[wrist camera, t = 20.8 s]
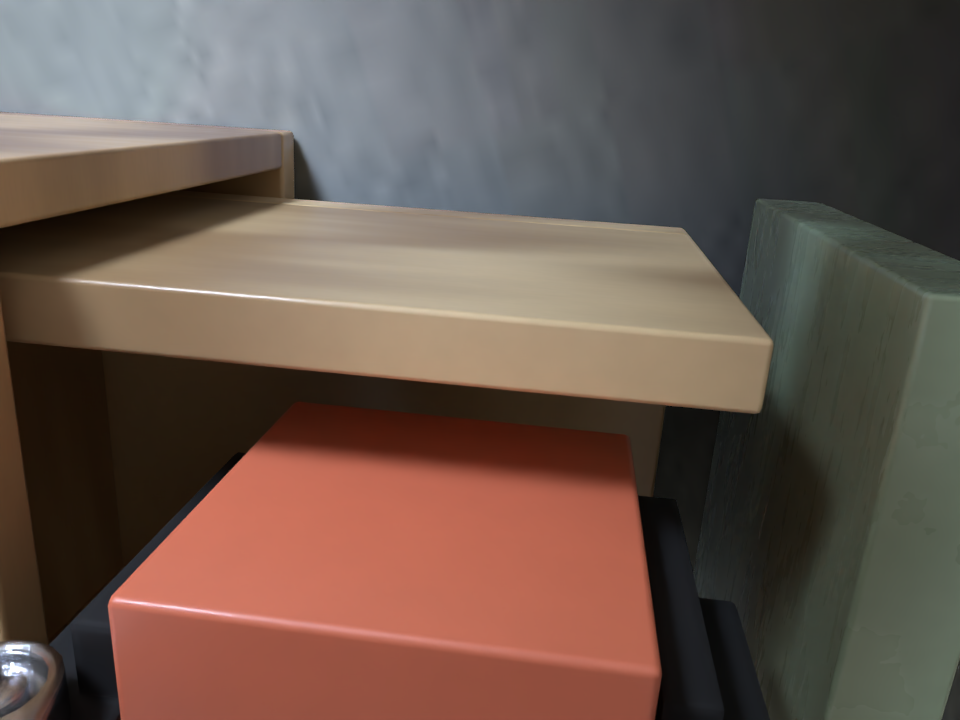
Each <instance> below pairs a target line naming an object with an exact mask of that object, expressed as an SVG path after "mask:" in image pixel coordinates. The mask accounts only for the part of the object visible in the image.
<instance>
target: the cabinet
mask: <svg viewBox="0 0 960 720" xmlns="http://www.w3.org/2000/svg"><path fill="white" fill-rule="evenodd" d="M178 190H180V191H193V192H207V193H220V194H234V195H247V196H260V197H274V198H287V199H295V194H294V139H293V133H292V132H290V131H284V130H269V129H253V128H238V127H223V126H207V125H192V124H177V123H161V122H146V121H131V120H116V119H100V118H85V117H70V116H54V115H39V114H24V113H8V112H0V228H4V227H9V226H13V225H18V224H23V223H27V222H32V221H37V220H42V219H46V218H51V217H56V216H60V215H65V214H70V213H74V212H79V211H84V210H89V209H93V208H98V207H103V206H107V205H112V204H117V203H121V202H126V201H131V200H136V199H140V198H145V197H150V196H154V195H159V194H164V193H168V192H173V191H178ZM11 640H27V641H38V642H40V643H43V644H46V645H49V640H48V633H47V626H46V618H45V611H44V604H43V597H42V590H41V583H40V576H39V569H38V562H37V555H36V548H35V540H34V533H33V526H32V519H31V512H30V505H29V498H28V491H27V484H26V477H25V469H24V462H23V455H22V448H21V441H20V434H19V427H18V420H17V413H16V406H15V399H14V391H13V384H12V377H11V370H10V363H9V356H8V349H7V342H6V335H5V328H4V321H3V313H2V306H1V299H0V642H2V641H11Z"/></svg>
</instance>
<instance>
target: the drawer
mask: <svg viewBox="0 0 960 720" xmlns="http://www.w3.org/2000/svg"><path fill="white" fill-rule="evenodd" d="M0 299H1V306H2V313H3V321H4V328H5V335H6V342H7V349H8V356H9V363H10V370H11V377H12V384H13V391H14V399H15V406H16V413H17V420H18V427H19V434H20V441H21V448H22V455H23V462H24V469H25V477H26V484H27V491H28V498H29V505H30V512H31V519H32V526H33V533H34V540H35V548H36V555H37V562H38V569H39V576H40V583H41V590H42V597H43V604H44V611H45V618H46V626H47V633H48V640H49V644H50V643H51V642H52V641H53V640H54V639H55V638H56V637H57V636H58V635H59V634H60V633H61V632H62V631H63V630H64V629H65V628H66V627H67V626H68V625H69V624H70V623H71V622H72V621H73V620H74V619H75V618H76V617H77V616H78V614H79V613H80V612H81V611H82V610H83V609H84V608H85V607H86V606H87V605H88V604H89V603H90V602H91V601H92V600H93V599H94V598H95V597H96V596H97V595H98V594H99V593H100V592H101V591H102V590H103V589H104V588H105V587H106V586H107V585H108V584H109V583H110V582H111V581H112V580H113V579H114V578H115V577H116V576H117V575H118V574H119V572H120V571H121V570H122V569H123V568H124V567H125V566H126V565H127V564H128V563H129V562H130V561H131V560H132V559H133V558H134V557H135V556H136V555H137V554H138V553H139V552H140V551H141V550H142V549H143V548H144V547H145V546H146V545H147V544H148V543H149V542H150V541H151V540H152V539H153V538H154V537H155V536H156V535H157V534H158V533H159V532H160V530H161V529H162V528H163V527H164V526H165V525H166V524H167V523H168V522H169V521H170V520H171V519H172V518H173V517H174V516H175V515H176V514H177V513H178V512H179V511H180V510H181V509H182V508H183V507H184V506H185V505H186V504H187V503H188V502H189V501H190V500H191V499H192V498H193V497H194V496H195V495H196V494H197V493H198V492H199V491H200V490H201V488H202V487H203V486H204V485H205V484H206V483H207V482H208V481H209V480H210V479H211V478H212V477H213V476H214V475H215V474H216V473H217V472H218V471H219V470H220V469H221V468H222V467H223V466H224V465H225V464H226V463H227V462H228V461H229V460H230V459H231V458H232V457H233V456H234V455H235V454H236V453H238V452H241V453H247V452H248V451H249V450H250V449H251V448H252V447H253V446H254V445H255V444H256V443H257V442H258V441H259V439H260V438H261V437H262V436H263V435H264V434H265V433H266V432H267V431H268V430H269V429H270V428H271V427H272V426H273V425H274V424H275V423H276V422H277V420H278V419H279V418H280V417H281V416H282V415H283V414H284V413H285V412H286V411H287V410H288V409H289V408H290V407H291V406H292V405H293V404H294V403H296V402H307V403H317V404H327V405H337V406H347V407H357V408H367V409H376V410H386V411H396V412H406V413H416V414H426V415H436V416H446V417H456V418H466V419H476V420H486V421H496V422H506V423H516V424H525V425H535V426H545V427H555V428H565V429H575V430H585V431H595V432H605V433H615V434H624V435H627V436H629V438H630V441H631V448H632V456H633V463H634V470H635V478H636V485H637V492H638V496H648V497H653V494H654V487H655V480H656V472H657V465H658V458H659V451H660V444H661V437H662V430H663V423H664V416H665V409H666V405H668V406H678V407H689V408H699V409H709V410H720V417H719V423H718V429H717V435H716V441H715V447H714V453H713V459H712V465H711V471H710V477H709V483H708V489H707V495H706V502H705V508H704V514H703V520H702V526H701V532H700V538H699V544H698V550H697V556H696V562H695V568H694V574H693V575H694V579H695V584H696V588H697V592H698V597H699V598H708V599H716V600H724V601H731V602H733V603H734V604H735V606H736V608H737V611H738V614H739V617H740V620H741V624H742V627H743V630H744V634H745V637H746V641H747V644H748V647H749V651H750V654H751V657H752V661H753V664H754V667H755V671H756V674H757V678H758V681H759V684H760V688H761V691H762V694H763V698H764V701H765V704H766V708H767V711H768V715H769V718H770V720H942V716H943V713H944V710H945V706H946V703H947V700H948V697H949V693H950V690H951V687H952V683H953V680H954V677H955V673H956V670H957V667H958V663H959V660H960V261H958V260H956V259H953V258H951V257H949V256H946V255H944V254H941V253H939V252H937V251H934V250H932V249H929V248H927V247H925V246H922V245H920V244H918V243H915V242H913V241H910V240H908V239H906V238H903V237H901V236H898V235H896V234H894V233H891V232H889V231H887V230H884V229H882V228H879V227H877V226H875V225H872V224H870V223H868V222H865V221H863V220H860V219H858V218H856V217H853V216H851V215H848V214H846V213H844V212H841V211H839V210H837V209H834V208H832V207H829V206H827V205H825V204H822V203H819V202H804V201H790V200H776V199H762V198H759V199H756V201H755V205H754V211H753V217H752V223H751V229H750V235H749V241H748V247H747V253H746V259H745V266H744V272H743V278H742V284H741V290H740V296H739V297H738V296H737V295H736V294H735V292H734V291H733V290H732V288H731V287H730V286H729V285H728V283H727V282H726V281H725V280H724V278H723V277H722V276H721V275H720V273H719V272H718V271H717V270H716V268H715V267H714V266H713V265H712V263H711V262H710V261H709V260H708V258H707V257H706V256H705V254H704V253H703V252H702V251H701V249H700V248H699V247H698V246H697V244H696V243H695V242H694V241H693V239H692V238H691V237H690V236H689V235H688V233H687V232H686V231H685V230H684V229H683V228H677V227H663V226H650V225H636V224H623V223H609V222H596V221H583V220H569V219H556V218H542V217H529V216H515V215H502V214H489V213H475V212H462V211H448V210H435V209H421V208H408V207H395V206H381V205H368V204H354V203H341V202H327V201H314V200H301V199H287V198H274V197H260V196H247V195H234V194H220V193H207V192H193V191H180V190H178V191H173V192H168V193H164V194H159V195H154V196H150V197H145V198H140V199H136V200H131V201H126V202H121V203H117V204H112V205H107V206H103V207H98V208H93V209H89V210H84V211H79V212H74V213H70V214H65V215H60V216H56V217H51V218H46V219H42V220H37V221H32V222H27V223H23V224H18V225H13V226H9V227H4V228H0Z"/></svg>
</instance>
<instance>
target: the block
mask: <svg viewBox="0 0 960 720" xmlns="http://www.w3.org/2000/svg"><path fill="white" fill-rule="evenodd" d="M108 612H109V621H110V629H111V638H112V647H113V655H114V664H115V672H116V681H117V690H118V698H119V707H120V715H121V720H655V716H656V710H657V703H658V697H659V691H660V685H661V678H662V668H661V661H660V654H659V646H658V639H657V632H656V624H655V617H654V610H653V602H652V595H651V588H650V580H649V573H648V566H647V558H646V551H645V544H644V536H643V529H642V522H641V514H640V507H639V500H638V492H637V485H636V478H635V470H634V463H633V456H632V448H631V441H630V438H629V436H627V435H624V434H615V433H605V432H595V431H585V430H575V429H565V428H555V427H545V426H535V425H525V424H516V423H506V422H496V421H486V420H476V419H466V418H456V417H446V416H436V415H426V414H416V413H406V412H396V411H386V410H376V409H367V408H357V407H347V406H337V405H327V404H317V403H307V402H296V403H294V404H293V405H292V406H291V407H290V408H289V409H288V410H287V411H286V412H285V413H284V414H283V415H282V416H281V417H280V418H279V419H278V420H277V422H276V423H275V424H274V425H273V426H272V427H271V428H270V429H269V430H268V431H267V432H266V433H265V434H264V435H263V436H262V437H261V438H260V439H259V441H258V442H257V443H256V444H255V445H254V446H253V447H252V448H251V449H250V450H249V451H248V452H247V453H246V454H245V455H244V456H243V457H242V458H241V460H240V461H239V462H238V463H237V464H236V465H235V466H234V467H233V468H232V469H231V470H230V471H229V472H228V473H227V474H226V475H225V476H224V477H223V479H222V480H221V481H220V482H219V483H218V484H217V485H216V486H215V487H214V488H213V489H212V490H211V491H210V492H209V493H208V494H207V495H206V497H205V498H204V499H203V500H202V501H201V502H200V503H199V504H198V505H197V506H196V507H195V508H194V509H193V510H192V511H191V512H190V513H189V514H188V516H187V517H186V518H185V519H184V520H183V521H182V522H181V523H180V524H179V525H178V526H177V527H176V528H175V529H174V530H173V531H172V532H171V533H170V535H169V536H168V537H167V538H166V539H165V540H164V541H163V542H162V543H161V544H160V545H159V546H158V547H157V548H156V549H155V550H154V551H153V552H152V554H151V555H150V556H149V557H148V558H147V559H146V560H145V561H144V562H143V563H142V564H141V565H140V566H139V567H138V568H137V569H136V570H135V571H134V573H133V574H132V575H131V576H130V577H129V578H128V579H127V580H126V581H125V582H124V583H123V584H122V585H121V586H120V587H119V588H118V589H117V590H116V592H115V593H114V594H113V595H112V596H111V598H110V600H109V604H108Z"/></svg>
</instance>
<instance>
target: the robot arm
mask: <svg viewBox="0 0 960 720" xmlns="http://www.w3.org/2000/svg"><path fill="white" fill-rule="evenodd" d="M245 454H246V453H241V452H238V453H236V454H235V455H234V456H233V457H232V458H231V459H230V460H229V461H228V462H227V463H226V464H225V465H224V466H223V467H222V468H221V469H220V470H219V471H218V472H217V473H216V474H215V475H214V476H213V477H212V478H211V479H210V480H209V481H208V482H207V483H206V484H205V485H204V486H203V487H202V488H201V490H200V491H199V492H198V493H197V494H196V495H195V496H194V497H193V498H192V499H191V500H190V501H189V502H188V503H187V504H186V505H185V506H184V507H183V508H182V509H181V510H180V511H179V512H178V513H177V514H176V515H175V516H174V517H173V518H172V519H171V520H170V521H169V522H168V523H167V524H166V525H165V526H164V527H163V528H162V529H161V530H160V532H159V533H158V534H157V535H156V536H155V537H154V538H153V539H152V540H151V541H150V542H149V543H148V544H147V545H146V546H145V547H144V548H143V549H142V550H141V551H140V552H139V553H138V554H137V555H136V556H135V557H134V558H133V559H132V560H131V561H130V562H129V563H128V564H127V565H126V566H125V567H124V568H123V569H122V570H121V571H120V572H119V574H118V575H117V576H116V577H115V578H114V579H113V580H112V581H111V582H110V583H109V584H108V585H107V586H106V587H105V588H104V589H103V590H102V591H101V592H100V593H99V594H98V595H97V596H96V597H95V598H94V599H93V600H92V601H91V602H90V603H89V604H88V605H87V606H86V607H85V608H84V609H83V610H82V611H81V612H80V613H79V614H78V616H77V617H76V618H75V619H74V620H73V621H72V622H71V623H70V624H69V625H68V626H67V627H66V628H65V629H64V630H63V631H62V632H61V633H60V634H59V635H58V636H57V637H56V638H55V639H54V640H53V641H52V642H51V643H50V644H49V645H46V644H43V643H40V642H38V641H27V640H11V641H2V642H0V720H121V715H120V707H119V698H118V690H117V681H116V672H115V664H114V655H113V647H112V638H111V629H110V621H109V612H108V604H109V600H110V598H111V596H112V595H113V594H114V593H115V592H116V590H117V589H118V588H119V587H120V586H121V585H122V584H123V583H124V582H125V581H126V580H127V579H128V578H129V577H130V576H131V575H132V574H133V573H134V571H135V570H136V569H137V568H138V567H139V566H140V565H141V564H142V563H143V562H144V561H145V560H146V559H147V558H148V557H149V556H150V555H151V554H152V552H153V551H154V550H155V549H156V548H157V547H158V546H159V545H160V544H161V543H162V542H163V541H164V540H165V539H166V538H167V537H168V536H169V535H170V533H171V532H172V531H173V530H174V529H175V528H176V527H177V526H178V525H179V524H180V523H181V522H182V521H183V520H184V519H185V518H186V517H187V516H188V514H189V513H190V512H191V511H192V510H193V509H194V508H195V507H196V506H197V505H198V504H199V503H200V502H201V501H202V500H203V499H204V498H205V497H206V495H207V494H208V493H209V492H210V491H211V490H212V489H213V488H214V487H215V486H216V485H217V484H218V483H219V482H220V481H221V480H222V479H223V477H224V476H225V475H226V474H227V473H228V472H229V471H230V470H231V469H232V468H233V467H234V466H235V465H236V464H237V463H238V462H239V461H240V460H241V458H242V457H243V456H244V455H245ZM638 500H639V507H640V514H641V522H642V529H643V536H644V544H645V551H646V558H647V566H648V573H649V580H650V588H651V595H652V602H653V610H654V617H655V624H656V632H657V639H658V646H659V654H660V661H661V668H662V678H661V685H660V691H659V697H658V703H657V710H656V716H655V720H770V718H769V715H768V711H767V708H766V704H765V701H764V698H763V694H762V691H761V688H760V684H759V681H758V678H757V674H756V671H755V667H754V664H753V661H752V657H751V654H750V651H749V647H748V644H747V641H746V637H745V634H744V630H743V627H742V624H741V620H740V617H739V614H738V611H737V608H736V606H735V604H734V603H733V602H731V601H724V600H716V599H708V598H699V597H698V592H697V588H696V584H695V579H694V575H693V570H692V566H691V562H690V557H689V553H688V548H687V544H686V540H685V535H684V531H683V526H682V522H681V518H680V513H679V509H678V504H677V501H676V500H675V499H666V498H657V497H648V496H638Z"/></svg>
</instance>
